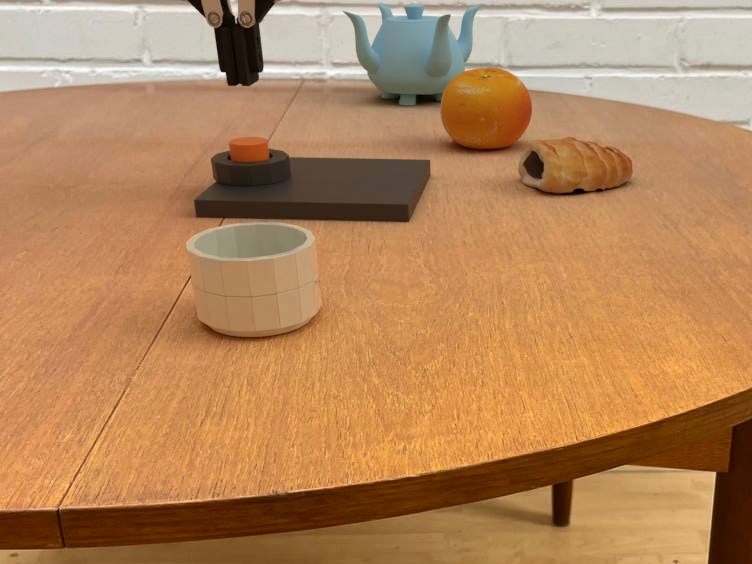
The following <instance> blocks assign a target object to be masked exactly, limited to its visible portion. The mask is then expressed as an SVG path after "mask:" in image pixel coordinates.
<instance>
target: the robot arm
mask: <svg viewBox="0 0 752 564" xmlns="http://www.w3.org/2000/svg"><path fill="white" fill-rule="evenodd" d="M180 1H181V2H187V3H189V4H190V5H191V6H192V7H193V8H194V9H195V10H196V11H197V12H198V13H199V14H200V15H201V16H203V18H205V20H206V22H207V24H208V25H209V26H210V27H211V28H213V31H214V33H213V34H214V39H215V46H216V53H217V63H218V68H219V71H220V73H225V78H226V84H227V86H228V87H236V86H238V85H241V87H252V85H253V84H255V83H257V82H259V80H260V74H259V73H263V71H264V68H265V67H264V56H263V47H262V45H263V44H262V37H261V30H260V24H261V23H262V22H263V21H264V19H265V17H266V16H267V15H268V13H269V12H270V11H271V9H272V8H273V7H274V5H275V4H276V3H278V2H280V1H282V0H237V17H236V15H234V13H233V7H232V5H231V0H180Z"/></svg>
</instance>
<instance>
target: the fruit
mask: <svg viewBox="0 0 752 564" xmlns="http://www.w3.org/2000/svg"><path fill="white" fill-rule="evenodd" d="M532 103H533V102H532V99H531V96H530V93H529V91H528V88H527V86H526V85H525V83H523V81H522V80H521V79H520V78H519V77H518V76H517V75H515V74H513V73H512V72H509V71H508V70H504V69H501V68H498V67H480V68H475V69H470V70H469V69H468V70H465V72H462V73H460V74H458V75H457V76H455V77H454V78H453V79H452V80H451V81H450V82H449V83H448V85H447V86H446V88H445V90H444V92H443V96H442V100H441V101H440V119H441V123H442V126H443V128H444V130H445V132H446V133H447V134H448V136H449V137H450V138H451V139H452V141H454V142H456V143H457V145H460V146H462V147H464V148H466V149H472V150H490V151H491V150H497V149H499V150H500V149H503V148H507V147H511V146H512V145H513V144H515V143H516V142H517V141H518V140H519V139H520V138H521V137H522V136H523V135H524V134H525V132H526V130H527V129H528V127H529V124H530V122H531V118H532V114H533V104H532Z"/></svg>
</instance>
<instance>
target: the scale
mask: <svg viewBox="0 0 752 564" xmlns="http://www.w3.org/2000/svg"><path fill="white" fill-rule="evenodd" d="M269 157H270V159H266V160H262V161H254V162H236V161H231V156H230V149H229V150H225V151H221V152H218V153H216V154H215V155H213V156H212V157H211V158H210V163H211V173H212V177H213V180H214V182H213V183H212V184H211V185H210V186H209V187H207V188H206V189H205V190H204V191H202V192H201V193H200V194H199V195H198V196H197V197H196V198H194V199H193V203H194V204H193V205H194V210H195V217H196V218H199V219H200V218H201V219H203V218H204V219H247V220H248V219H249V220H255V219H256V220H290V221H291V220H294V221H334V222H335V221H336V222H337V221H339V222H378V223H379V222H380V223H410V220H411V219H412V216H413V215H414V212H415V210H416V208H417V205H418V203H419V202H420V201H419V200H420V199H421V198H422V195H423V192H424V191H425V189H426V186H427V184H428V182H429V180H430V178H431V159H416V158H415V159H411V158H409V159H408V158H407V159H404V158H362V157H361V158H357V157H355V158H353V157H299V156H290V155H289V153H287V152H285V151H284V150H280V149H275V148H269Z"/></svg>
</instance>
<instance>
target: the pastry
mask: <svg viewBox="0 0 752 564" xmlns="http://www.w3.org/2000/svg"><path fill="white" fill-rule="evenodd" d="M517 172H518V174H519V176H520V178H521V183H522V184H523V185H525V186H526V187H530V188H537V189H538V190H540V191H542V192H545V193H554V194H556V195H560V194H565V193H571V194H572V193H573V192H574V190H577V189H582V190H583V191H584V192H594V191H596V190H598V189H600V190H601V189H602V191H605V190H606V189H611V188H617V187H619V186H620V185H623V184H625V183H626V181H630V180H631V179H632V176H633V173H634V170H633V161H632V158H630V157H629V156H628V155H626V154H625V153H624V152H622V151H621V150H620V149H619V148H616V147H615V146H610V145H606V146H602V145H600V143H598V142H596V141H589V140H581V139H579V140H578V139H576V138H575V137H570V136H567V137H564V138H561V139H560V138H559V139H558V138H557V139H538V140H532V141H529V142H527V144H526V145H525V150H524V151H523V152H522V154H521V155H520V160H519V162H518V167H517Z"/></svg>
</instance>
